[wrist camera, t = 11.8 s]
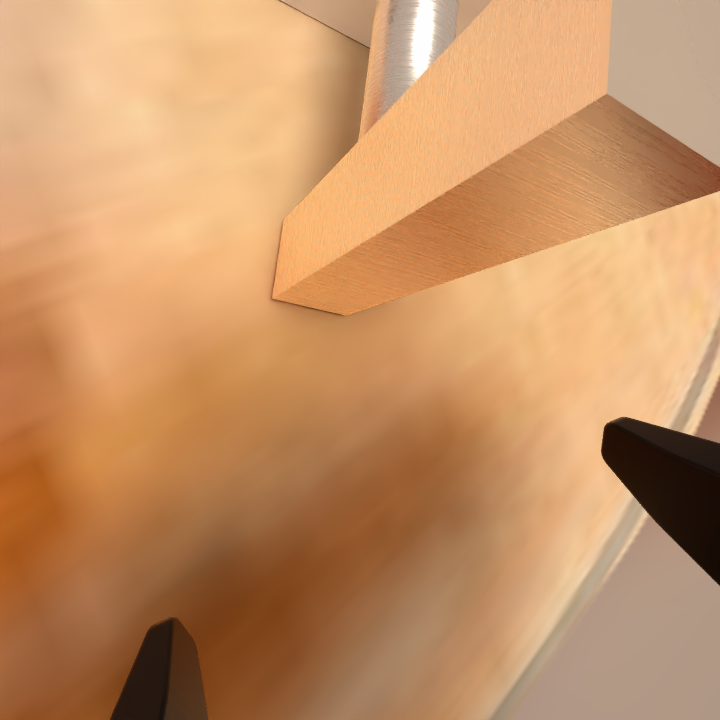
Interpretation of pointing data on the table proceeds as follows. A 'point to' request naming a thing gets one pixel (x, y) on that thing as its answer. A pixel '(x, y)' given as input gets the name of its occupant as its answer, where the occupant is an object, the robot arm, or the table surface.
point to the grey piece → (506, 141)
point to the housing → (369, 15)
